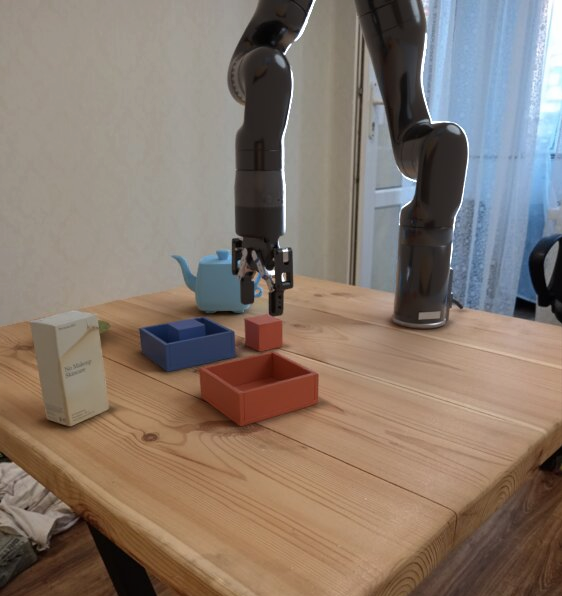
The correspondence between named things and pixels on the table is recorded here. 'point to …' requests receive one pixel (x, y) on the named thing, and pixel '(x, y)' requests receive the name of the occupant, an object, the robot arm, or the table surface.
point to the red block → (263, 332)
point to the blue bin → (187, 346)
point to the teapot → (216, 283)
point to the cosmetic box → (70, 366)
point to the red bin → (258, 387)
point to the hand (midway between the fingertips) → (261, 309)
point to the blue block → (185, 330)
